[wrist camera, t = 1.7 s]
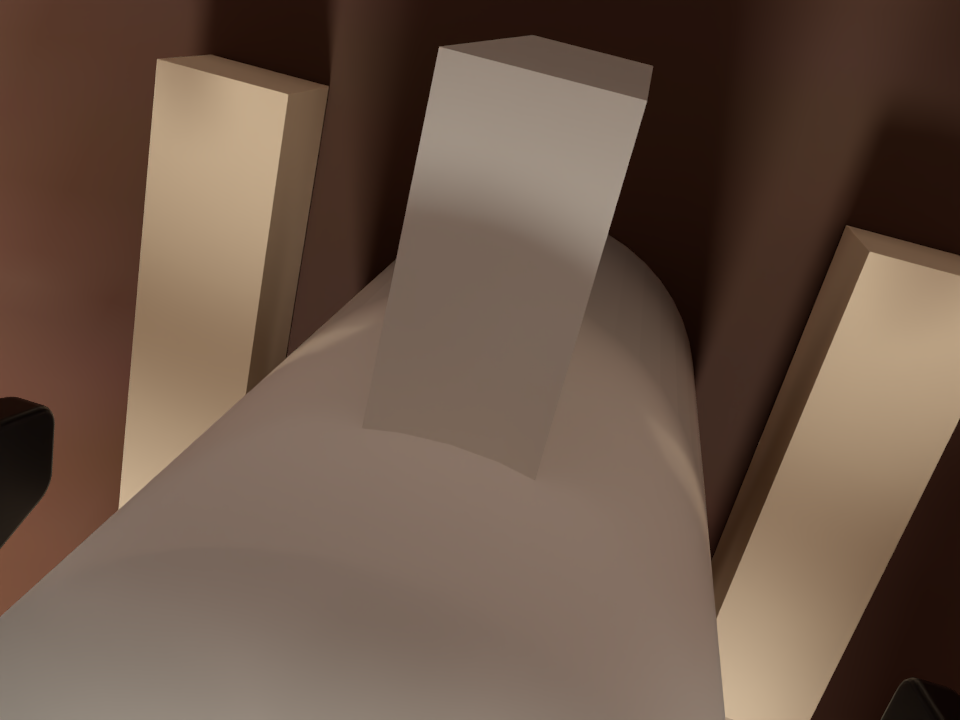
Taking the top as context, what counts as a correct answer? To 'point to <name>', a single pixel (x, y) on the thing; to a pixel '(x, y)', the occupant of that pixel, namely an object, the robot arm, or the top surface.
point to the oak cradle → (776, 462)
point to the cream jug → (429, 467)
